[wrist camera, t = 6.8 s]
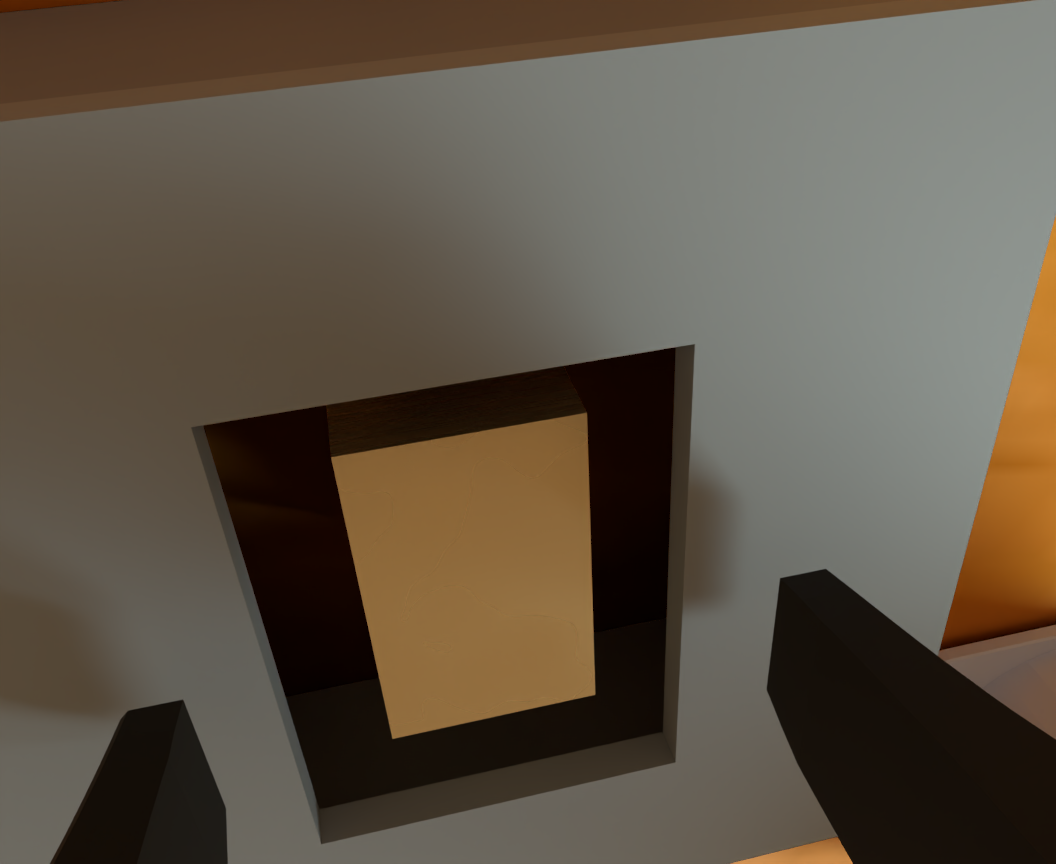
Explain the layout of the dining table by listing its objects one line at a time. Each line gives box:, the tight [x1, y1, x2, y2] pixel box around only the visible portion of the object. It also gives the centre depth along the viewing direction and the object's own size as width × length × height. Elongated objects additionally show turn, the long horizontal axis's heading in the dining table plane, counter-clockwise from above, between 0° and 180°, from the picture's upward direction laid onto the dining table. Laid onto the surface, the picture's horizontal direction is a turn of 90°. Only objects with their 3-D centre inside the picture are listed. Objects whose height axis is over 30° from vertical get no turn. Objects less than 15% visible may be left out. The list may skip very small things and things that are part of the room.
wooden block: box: [326, 366, 595, 739], centre depth 15 cm, size 5×3×5 cm, turn 4°
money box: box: [0, 0, 1056, 864], centre depth 15 cm, size 14×14×5 cm
